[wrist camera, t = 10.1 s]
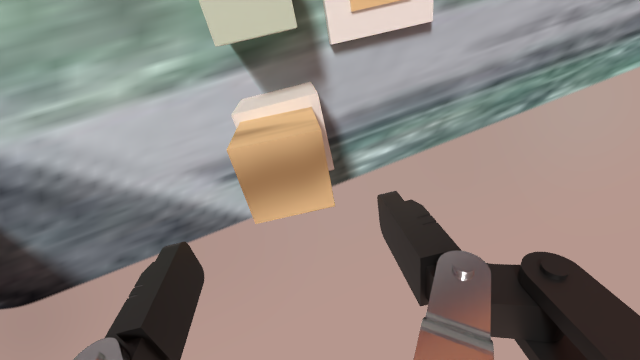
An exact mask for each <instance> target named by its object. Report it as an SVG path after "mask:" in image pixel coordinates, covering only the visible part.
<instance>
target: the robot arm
mask: <svg viewBox="0 0 640 360" xmlns="http://www.w3.org/2000/svg"><path fill="white" fill-rule="evenodd" d="M377 199H378V209H379V220H380V227H381V231H382V234H383V237H384V239H385V240H386V243H387V245H388V246H389V248H390V250H391V252H392V254H393V256H394V258H395V260H396V262H397V263H398V265H399V267H400V269H401V271H402V273H403V275H404V277H405V279H406V280H407V282H408V284H409V286H410V288H411V290H412V291H413V293H414V295H415V297H416V299H417V301H418V303H419V305H420V306H424V305H428V309H427V313H426V317H424V318H423V321H422V324H421V329H420V333H419V337H418V342H417V346H416V351H415V356H414V360H494V351H493V350H494V349H493V342H492V340H491V338H490V337H500V338H511V339H515V341H516V342H517V344H518V345H519V346H520V348H521V349H522V350H523V352H524V353H525V355H526V356H527V357H528V359H529V360H640V316H639V315H638V314H637V313H636V312H634V311H633V310H632V309H631V308H629V307H628V306H627V305H626V304H625V303H623V302H622V301H621V300H620V299H618V298H617V297H616V296H615V295H614V294H612V293H611V292H610V291H609V290H608V289H606V288H605V287H604V286H603V285H601V284H600V283H599V282H598V281H597V280H595V279H594V278H593V277H592V276H591V275H589V274H588V273H587V272H585V271H584V270H583V269H582V268H581V267H580V266H578V265H577V264H576V263H574V262H572V261H571V260H569V259H567V258H565V257H562V256H560V255H556V254H553V253H548V252H533V253H529V254H527V255H526V256H524V258H523V259H522V262H521V265H502V264H501V265H500V264H488V263H485V261H483V260H482V259H481V258H479V257H478V256H476V255H474V254H472V253H469V252H465V251H461V249H460V248H459V247H458V246H457V245H456V244H455V243H454V241H453V240H452V239H451V238H450V237H449V235H448V234H447V233H446V232H445V231H444V230H443V229H442V227H441V226H440V225H439V224H438V223H436V220H435V219H434V218H433V217H432V216H430V213H429V212H428V211H427V210H426V209H425V208H424V207H423V206H422V205H421V204H419V203H417V202H415V201H413V200H408V201H404V200H403V199H402V197H401V196H400V195H399V194H398V193H397V191H394V192H389V193H385V194H381V195H378V197H377ZM203 283H204V271H203V268H202V266H201V264H200V263H199V261H198V260H197V258H196V256H195V255H194V253H193V252H192V250H191V248H190V246H189V245H188V244H187V243H186V242H181V243H177V244H173V245H168V246H165V247H163V248H162V250H161V252H160V254H159V255H158V258H157V259H156V261H155V262H153V263H152V264H151V265H150V266H149V267H148V268H147V269H146V270H145V271H144V272H143V273H142V274H141V276H140V278H139V279H138V281H137V283H136V284H135V288H134V289H133V290H132V291H131V293H130V295H129V299H127V300H126V302H125V303H124V305H123V307H122V309H121V310H120V312H119V314H118V316H117V317H116V319H115V321H114V323H113V324H112V326H111V328H110V329H109V331H108V333H107V335H106V337H105V338H104V339H101V340H99V341H96V342H95V343H93V344H91V345H90V346H88V347H87V348H85V349H84V350H83V351H82V352H81V353H79V354H78V356H76V357H75V358H74V360H180V359H181V355H182V352H183V349H184V346H185V343H186V339H187V336H188V332H189V329H190V326H191V323H192V319H193V316H194V313H195V309H196V306H197V303H198V299H199V296H200V293H201V290H202V286H203Z"/></svg>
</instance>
